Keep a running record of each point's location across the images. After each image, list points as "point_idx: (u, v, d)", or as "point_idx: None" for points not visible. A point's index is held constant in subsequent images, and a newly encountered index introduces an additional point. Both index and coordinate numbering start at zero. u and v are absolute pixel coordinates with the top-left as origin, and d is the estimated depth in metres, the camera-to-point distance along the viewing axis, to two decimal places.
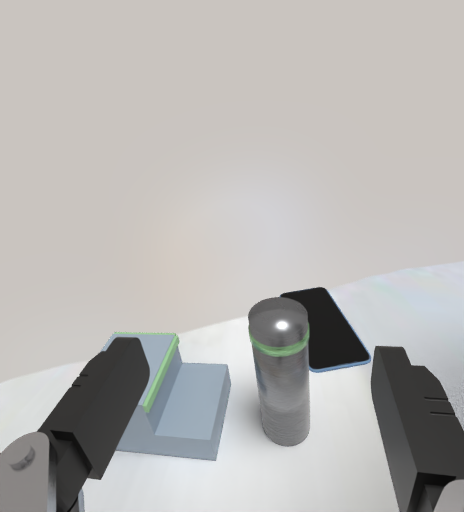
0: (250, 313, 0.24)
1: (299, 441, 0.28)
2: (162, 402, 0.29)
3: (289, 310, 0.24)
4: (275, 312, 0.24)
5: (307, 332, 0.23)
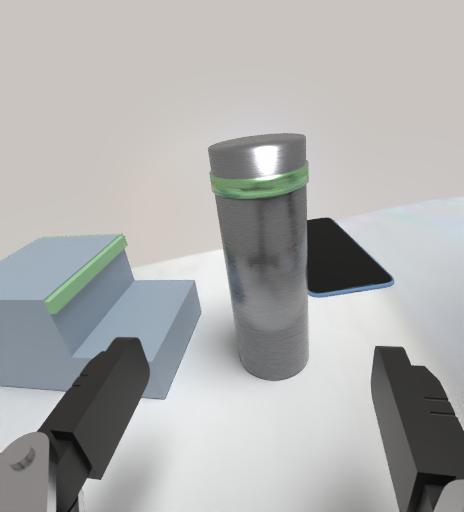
0: (212, 145, 0.15)
1: (292, 373, 0.18)
2: (91, 317, 0.19)
3: (276, 138, 0.14)
4: (253, 141, 0.14)
5: (305, 165, 0.14)
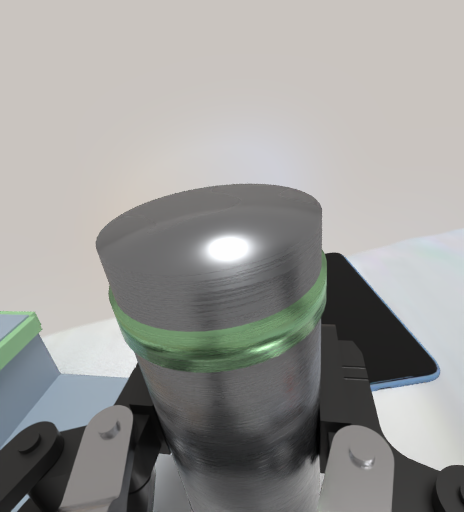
0: (120, 217, 0.07)
1: None
2: None
3: (255, 204, 0.07)
4: (206, 209, 0.07)
5: (320, 277, 0.06)
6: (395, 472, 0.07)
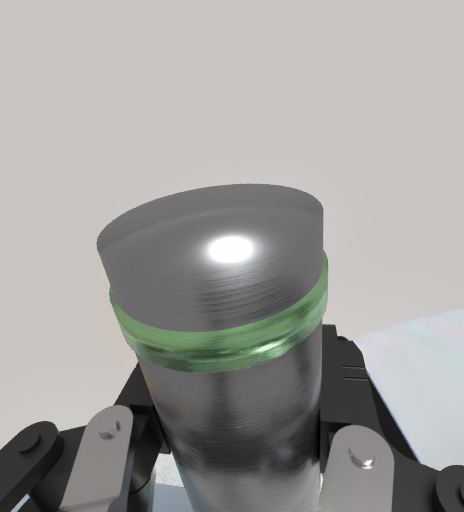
0: (121, 217, 0.07)
1: None
2: None
3: (256, 204, 0.07)
4: (206, 209, 0.07)
5: (322, 277, 0.06)
6: (395, 472, 0.07)
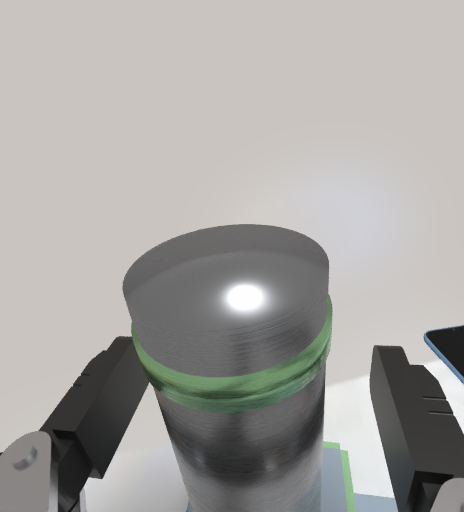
0: (141, 259, 0.07)
1: None
2: None
3: (266, 250, 0.07)
4: (221, 254, 0.07)
5: (327, 323, 0.06)
6: None
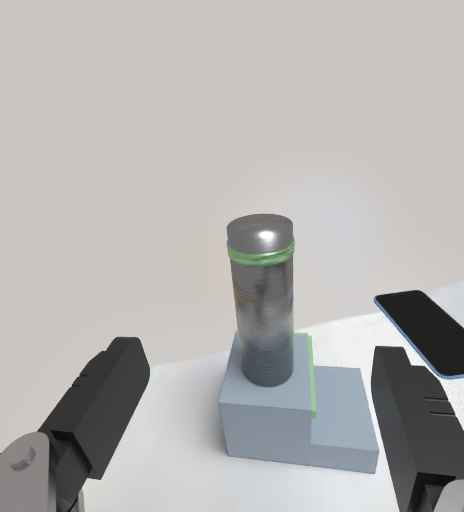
0: (229, 224, 0.21)
1: (281, 382, 0.25)
2: None
3: (273, 221, 0.21)
4: (257, 223, 0.21)
5: (291, 243, 0.20)
6: None
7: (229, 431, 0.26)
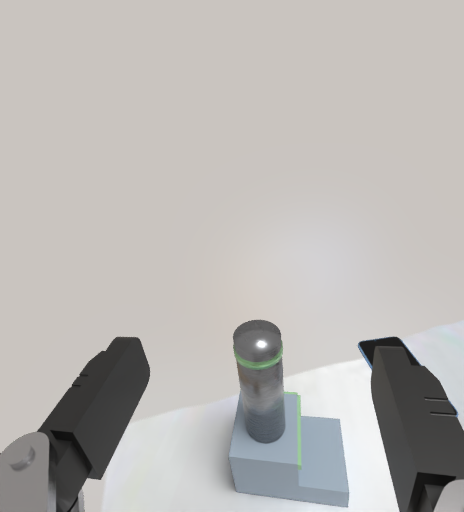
0: (235, 333, 0.29)
1: (275, 439, 0.33)
2: None
3: (266, 331, 0.29)
4: (255, 332, 0.29)
5: (280, 350, 0.28)
6: None
7: (237, 475, 0.34)
